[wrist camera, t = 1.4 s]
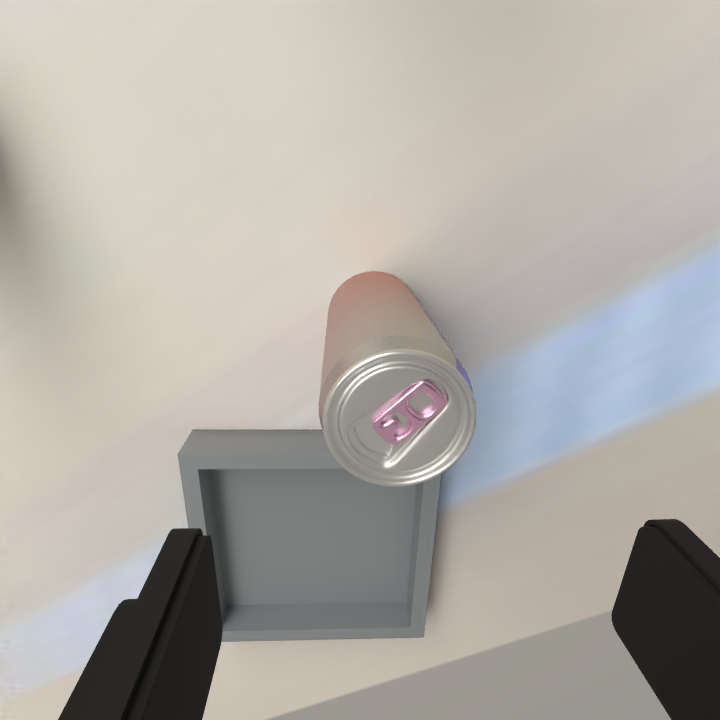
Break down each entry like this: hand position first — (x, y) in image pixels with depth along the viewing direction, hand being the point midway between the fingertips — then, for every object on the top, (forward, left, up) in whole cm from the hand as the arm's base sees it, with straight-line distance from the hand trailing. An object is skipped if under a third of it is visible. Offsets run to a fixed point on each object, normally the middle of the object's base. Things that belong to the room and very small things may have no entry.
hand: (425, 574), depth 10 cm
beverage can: (0, 0, -22) cm, 22 cm away
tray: (+4, +18, -22) cm, 28 cm away
